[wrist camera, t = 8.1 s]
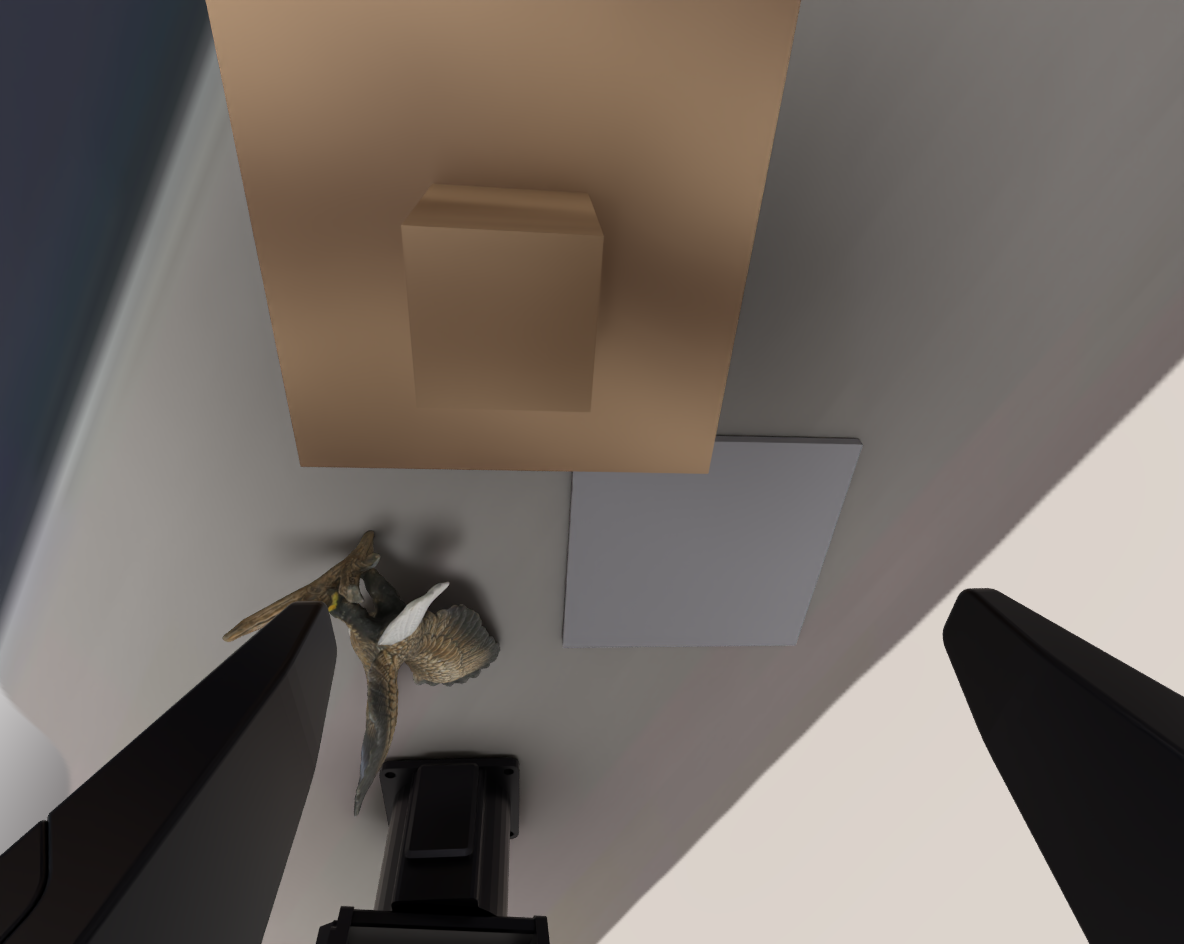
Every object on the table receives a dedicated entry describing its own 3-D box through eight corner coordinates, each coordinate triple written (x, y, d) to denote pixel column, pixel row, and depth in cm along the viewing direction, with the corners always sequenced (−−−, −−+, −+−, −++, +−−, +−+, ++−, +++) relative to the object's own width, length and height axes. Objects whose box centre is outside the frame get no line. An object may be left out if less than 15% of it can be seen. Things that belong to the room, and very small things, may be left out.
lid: (699, 453, 18) (745, 564, 14) (312, 445, 17) (246, 562, 13) (785, -8, 12) (897, -32, 8) (217, -61, 11) (55, -116, 7)
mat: (792, 638, 28) (795, 645, 28) (562, 640, 27) (562, 647, 27) (858, 438, 23) (863, 444, 23) (574, 432, 22) (575, 438, 22)
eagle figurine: (214, 593, 23) (335, 769, 27) (225, 677, 17) (379, 891, 21) (406, 490, 26) (493, 659, 30) (472, 530, 20) (571, 737, 24)
